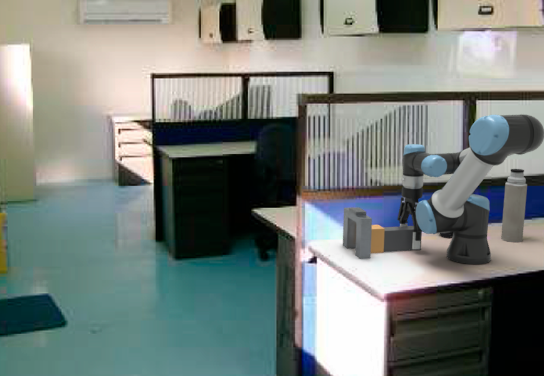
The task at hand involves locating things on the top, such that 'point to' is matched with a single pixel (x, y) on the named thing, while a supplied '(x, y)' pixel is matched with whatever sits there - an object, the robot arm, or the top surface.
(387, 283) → the top surface
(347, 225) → the housing
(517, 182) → the thermos bottle
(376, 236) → the grey and orange block
